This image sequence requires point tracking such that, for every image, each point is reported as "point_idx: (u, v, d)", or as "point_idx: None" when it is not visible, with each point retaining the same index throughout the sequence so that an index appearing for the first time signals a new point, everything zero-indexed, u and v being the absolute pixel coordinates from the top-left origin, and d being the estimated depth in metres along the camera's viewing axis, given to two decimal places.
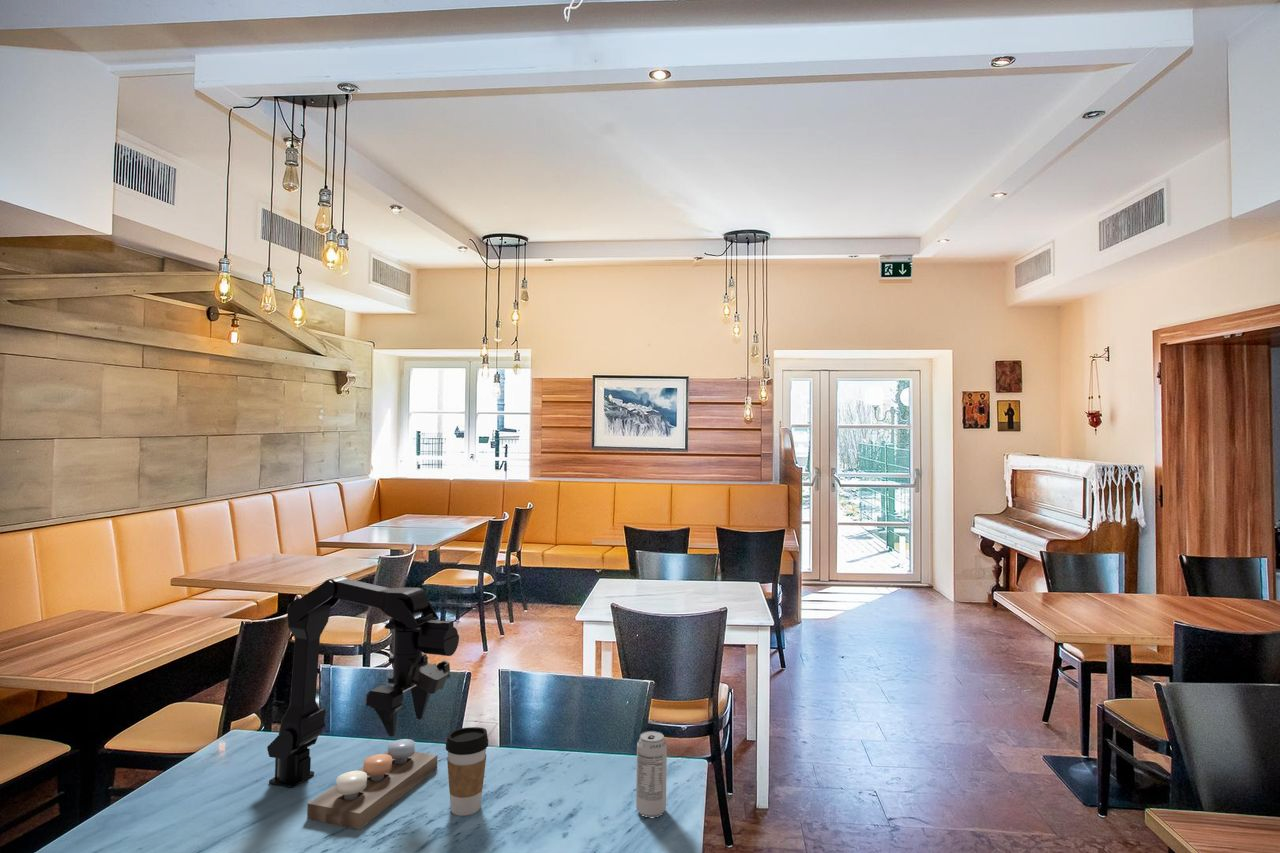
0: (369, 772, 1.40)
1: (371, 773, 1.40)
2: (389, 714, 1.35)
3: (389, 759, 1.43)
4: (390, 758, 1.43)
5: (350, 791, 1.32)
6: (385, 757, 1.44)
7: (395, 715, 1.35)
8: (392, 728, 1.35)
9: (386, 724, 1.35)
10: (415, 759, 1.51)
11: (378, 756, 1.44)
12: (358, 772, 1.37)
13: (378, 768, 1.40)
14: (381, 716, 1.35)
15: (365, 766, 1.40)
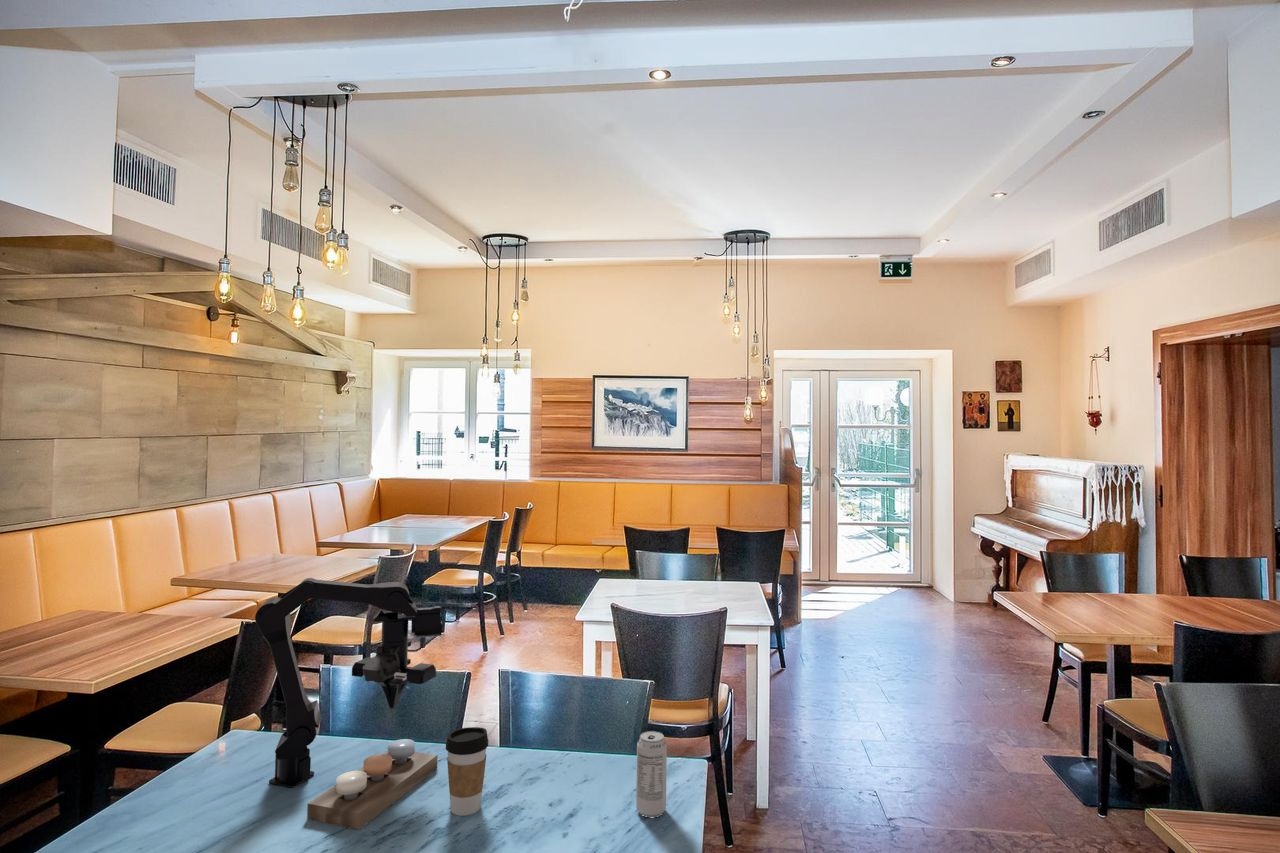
0: (369, 772, 1.40)
1: (371, 773, 1.40)
2: None
3: (389, 759, 1.43)
4: (390, 758, 1.43)
5: (350, 791, 1.32)
6: (385, 757, 1.44)
7: (385, 689, 1.54)
8: None
9: None
10: (415, 759, 1.51)
11: (378, 756, 1.44)
12: (358, 772, 1.37)
13: (378, 768, 1.40)
14: None
15: (365, 766, 1.40)
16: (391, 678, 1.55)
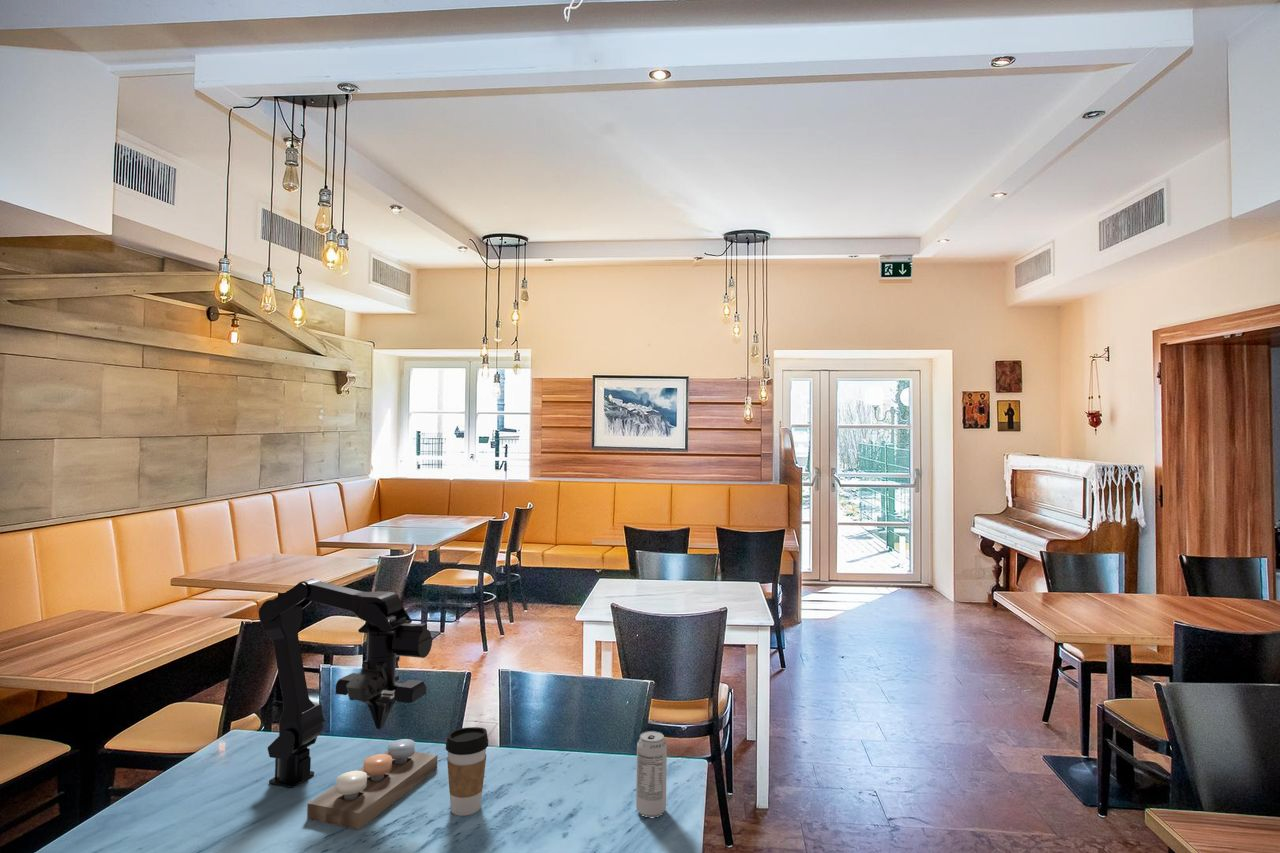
0: (369, 772, 1.40)
1: (371, 773, 1.40)
2: None
3: (389, 759, 1.43)
4: (390, 758, 1.43)
5: (350, 791, 1.32)
6: (385, 757, 1.44)
7: (372, 708, 1.42)
8: None
9: None
10: (415, 759, 1.51)
11: (378, 756, 1.44)
12: (358, 772, 1.37)
13: (378, 768, 1.40)
14: None
15: (365, 766, 1.40)
16: (378, 696, 1.44)
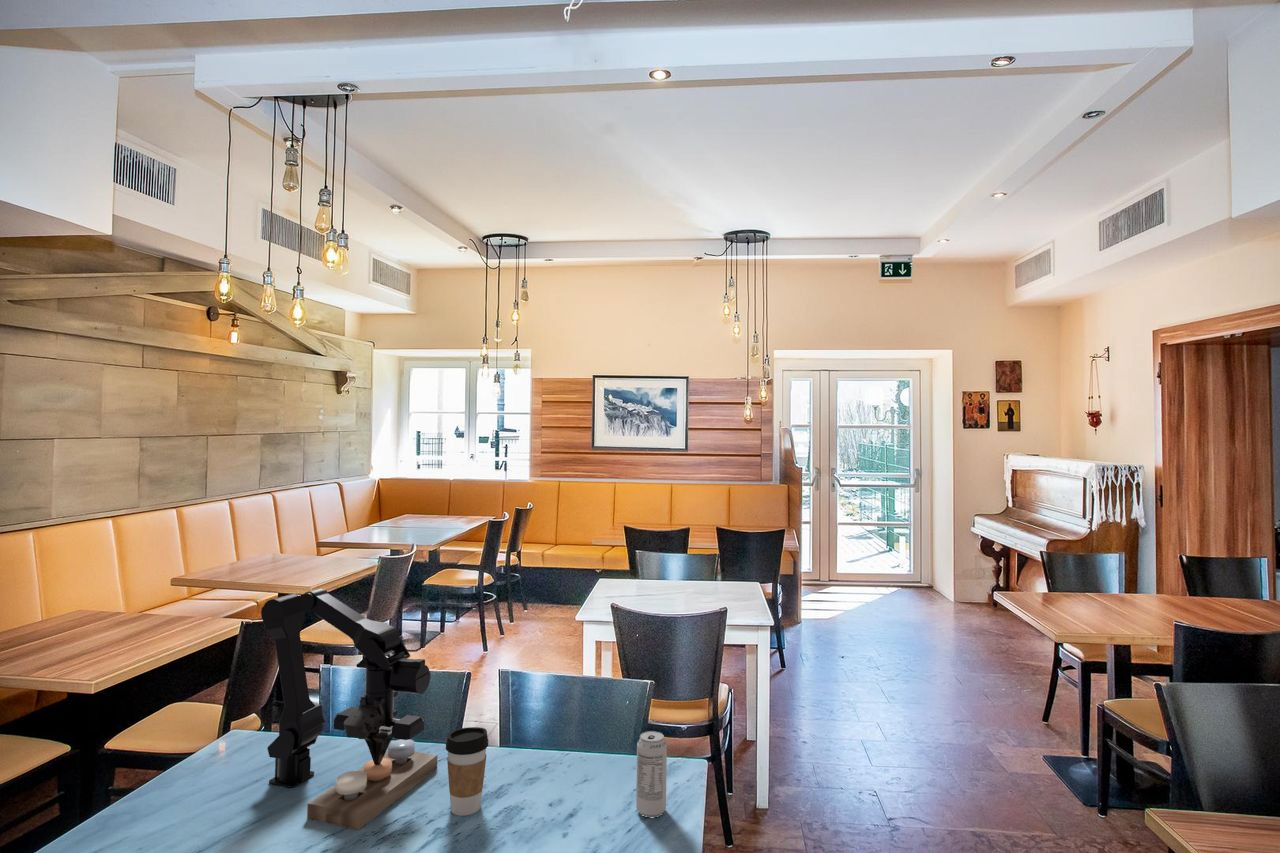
0: (369, 776, 1.40)
1: (371, 777, 1.40)
2: None
3: (389, 763, 1.43)
4: (390, 762, 1.43)
5: (350, 791, 1.32)
6: (385, 761, 1.44)
7: (370, 744, 1.42)
8: None
9: None
10: (415, 759, 1.51)
11: None
12: (358, 772, 1.37)
13: (378, 772, 1.40)
14: None
15: (365, 770, 1.40)
16: (376, 731, 1.43)
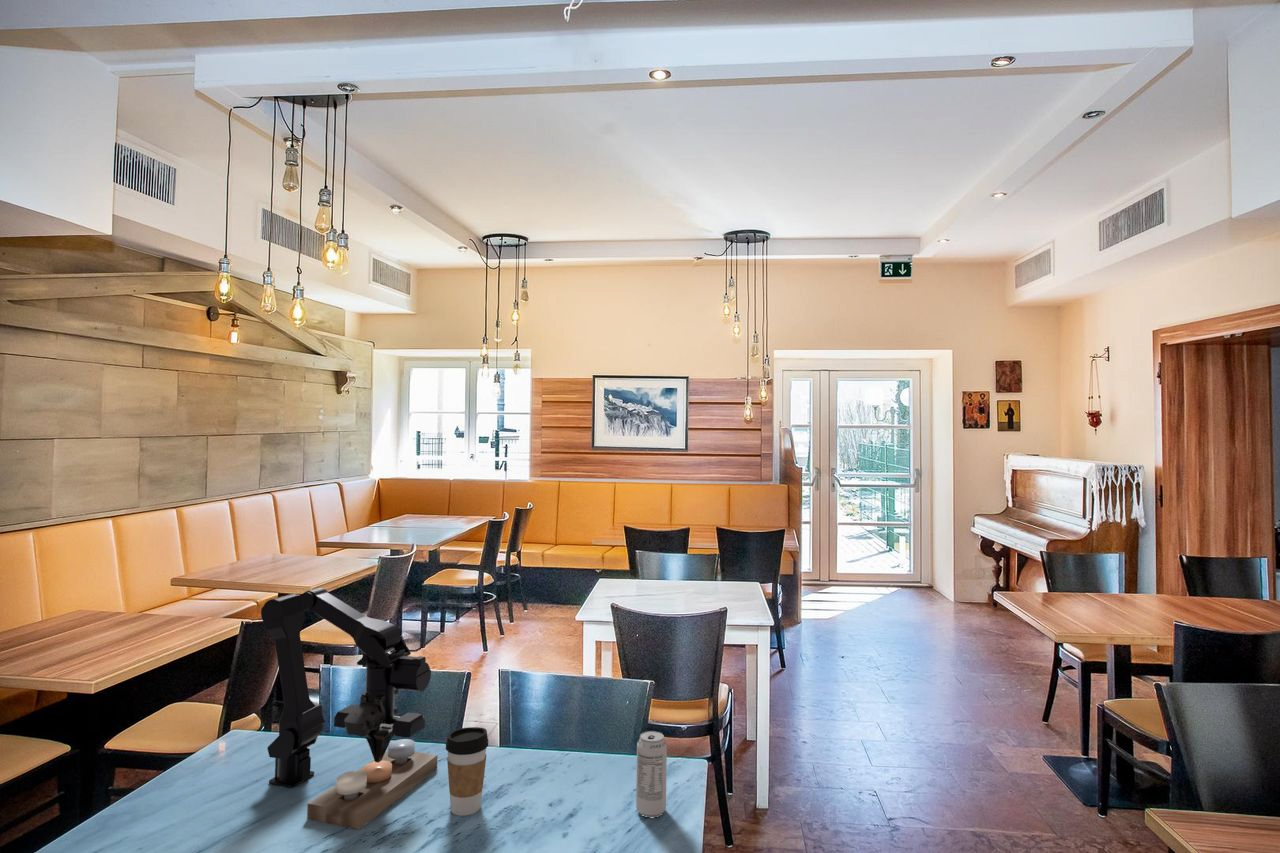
0: (369, 779, 1.40)
1: (371, 780, 1.40)
2: None
3: (389, 766, 1.43)
4: (390, 765, 1.43)
5: (350, 791, 1.32)
6: (385, 763, 1.44)
7: (370, 741, 1.42)
8: None
9: None
10: (415, 759, 1.51)
11: (378, 763, 1.44)
12: (358, 772, 1.37)
13: (378, 775, 1.40)
14: None
15: None
16: (376, 729, 1.43)
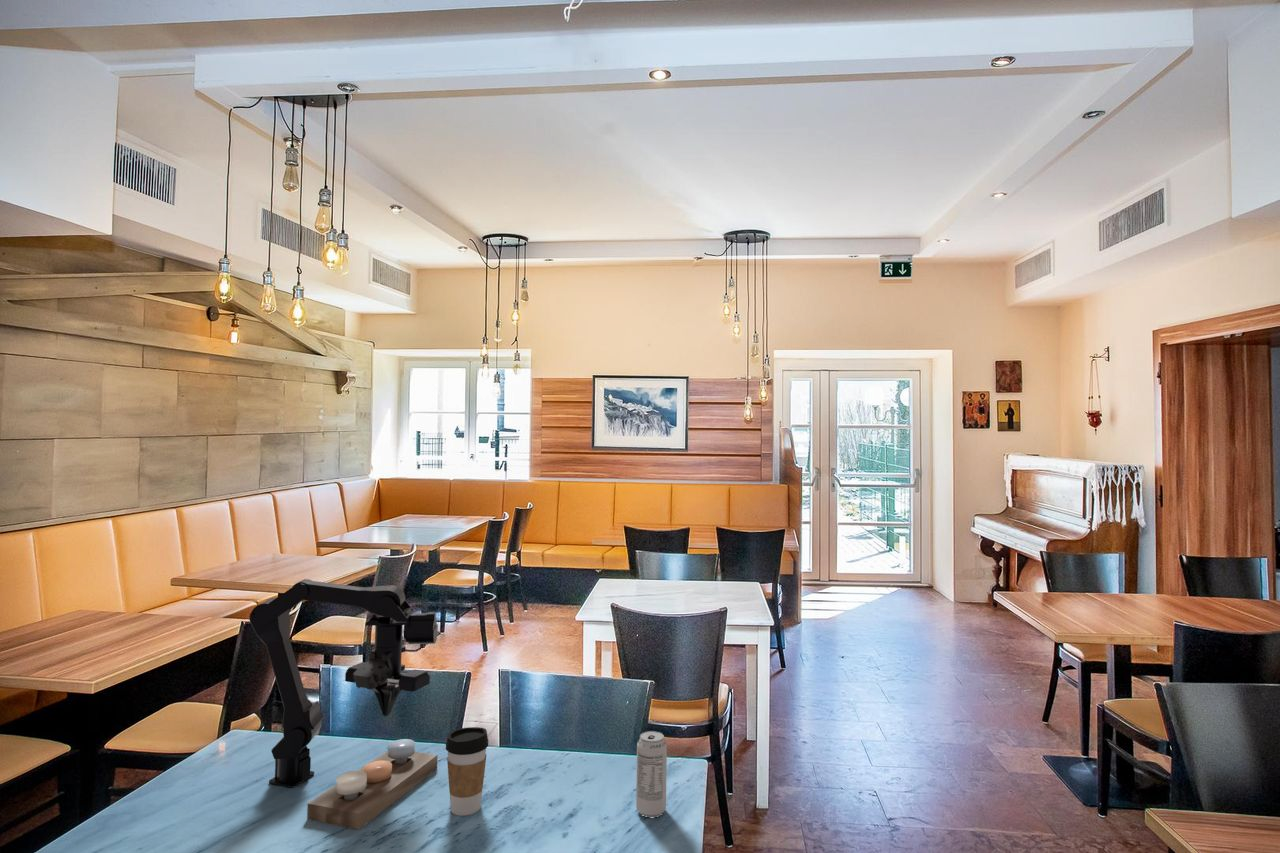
0: (369, 779, 1.40)
1: (371, 780, 1.40)
2: None
3: (389, 766, 1.43)
4: (390, 765, 1.43)
5: (350, 791, 1.32)
6: (385, 763, 1.44)
7: (378, 696, 1.50)
8: None
9: None
10: (415, 759, 1.51)
11: (378, 763, 1.44)
12: (358, 772, 1.37)
13: (378, 775, 1.40)
14: None
15: None
16: (385, 684, 1.51)
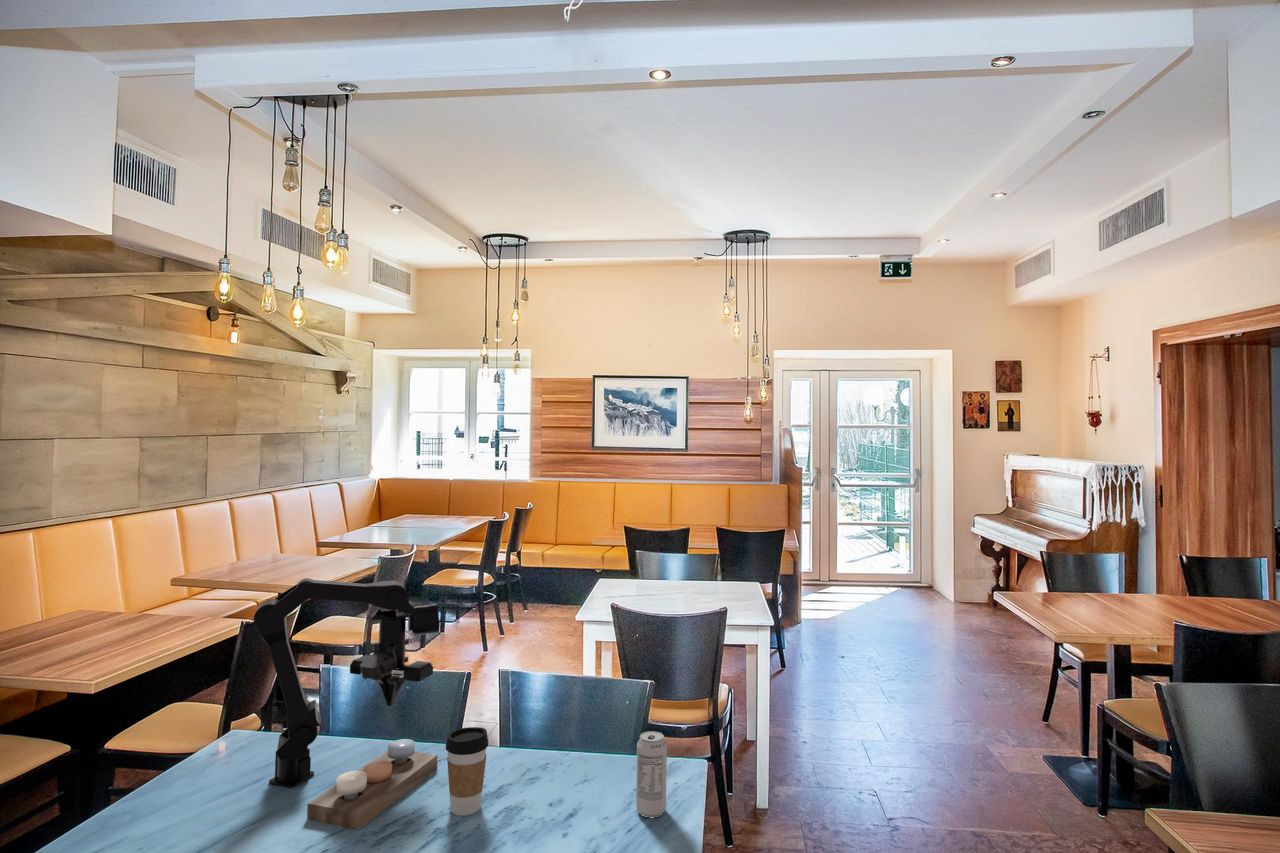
0: (369, 779, 1.40)
1: (371, 780, 1.40)
2: None
3: (389, 766, 1.43)
4: (390, 765, 1.43)
5: (350, 791, 1.32)
6: (385, 763, 1.44)
7: (383, 687, 1.55)
8: None
9: None
10: (415, 759, 1.51)
11: (378, 763, 1.44)
12: (358, 772, 1.37)
13: (378, 775, 1.40)
14: None
15: None
16: (389, 676, 1.57)
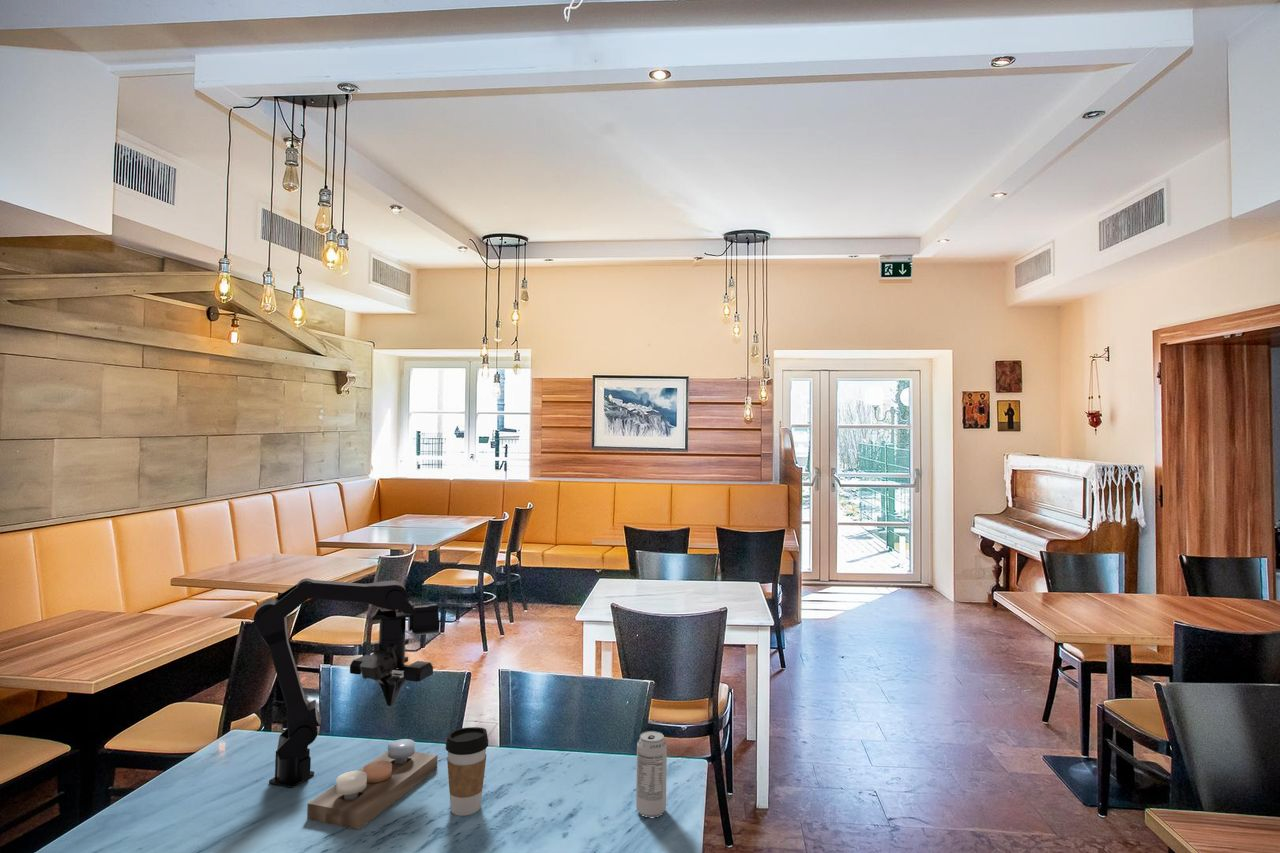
0: (369, 779, 1.40)
1: (371, 780, 1.40)
2: None
3: (389, 766, 1.43)
4: (390, 765, 1.43)
5: (350, 791, 1.32)
6: (385, 763, 1.44)
7: (383, 687, 1.55)
8: None
9: None
10: (415, 759, 1.51)
11: (378, 763, 1.44)
12: (358, 772, 1.37)
13: (378, 775, 1.40)
14: None
15: None
16: (389, 676, 1.57)
